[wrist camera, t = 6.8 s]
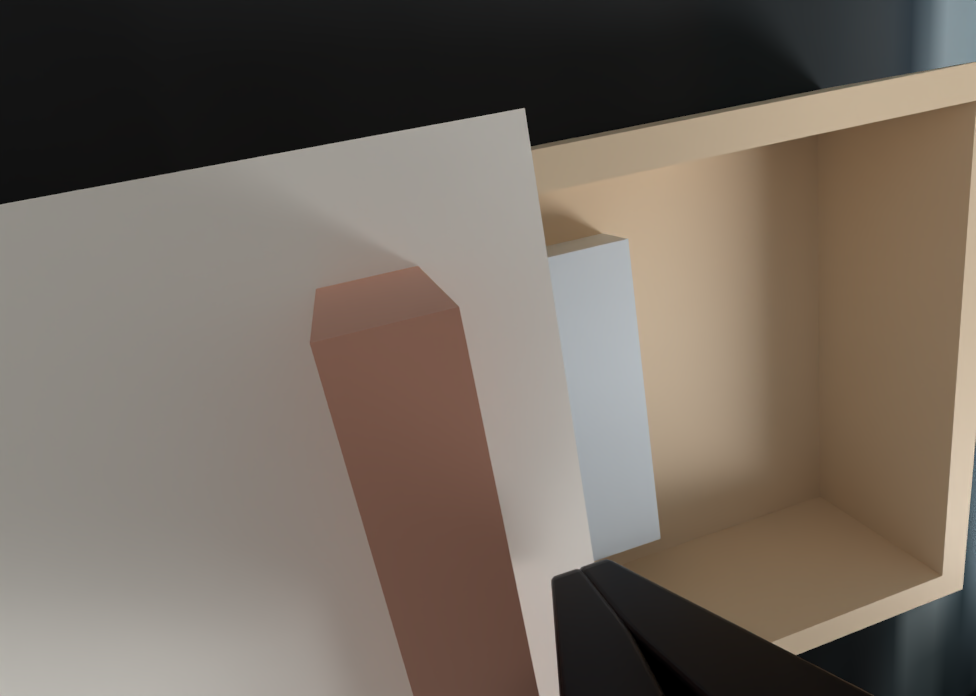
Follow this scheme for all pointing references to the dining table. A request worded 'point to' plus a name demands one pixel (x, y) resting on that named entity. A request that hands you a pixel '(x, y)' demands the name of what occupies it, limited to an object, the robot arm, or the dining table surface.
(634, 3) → the dining table surface
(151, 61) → the dining table surface
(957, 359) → the beige open tray
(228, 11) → the dining table surface
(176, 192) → the lid
